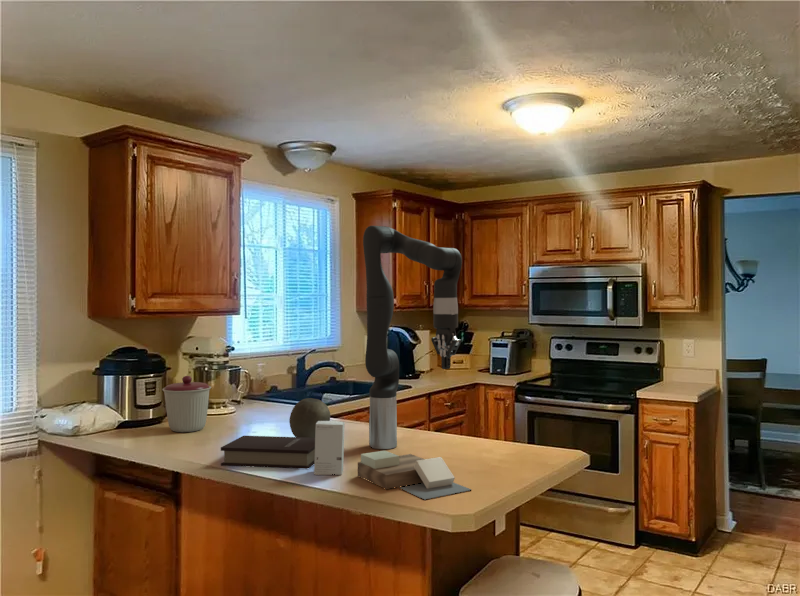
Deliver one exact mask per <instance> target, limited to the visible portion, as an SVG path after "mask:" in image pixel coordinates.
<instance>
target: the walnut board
mask: <svg viewBox="0 0 800 596" xmlns="http://www.w3.org/2000/svg"><path fill="white" fill-rule="evenodd" d="M398 456H399V465H395V466H389V467H383V468H377V469H374V468H372V467H369V466H367V465H365V464H362V463H361V461H358V462H357V477H358V476H360V477H362V478H365V479H367V480H369V481H371V482H373V483H375V484H377V485H379V486H381V487H383V488H385V489H389V488H394V487H399V488H400V486H406V485H410V486H411V485H412V484H415V485H416V484H418V483H423V481H422V480H421V478H420V476H419V475H418V473H417V471H416V470H415V468H414V466H415V463H416V461H417V460H423V459H424V458H422V457H421V456H417V455H415V454H411V453H408V454H403V455H402V454H401V455H398ZM360 477H359V478H360ZM362 478H361V479H362ZM365 479H364V480H365ZM367 480H366V481H367ZM369 481H368V482H369ZM371 482H370V483H371ZM373 483H372V484H373ZM375 484H374V485H375ZM377 485H376V486H377ZM379 486H378V487H379ZM381 487H380V488H381ZM383 488H382V489H383ZM385 489H384V490H385ZM394 489H395V488H394ZM389 490H390V489H389Z"/></svg>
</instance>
